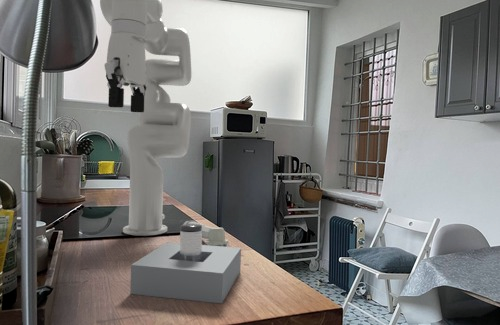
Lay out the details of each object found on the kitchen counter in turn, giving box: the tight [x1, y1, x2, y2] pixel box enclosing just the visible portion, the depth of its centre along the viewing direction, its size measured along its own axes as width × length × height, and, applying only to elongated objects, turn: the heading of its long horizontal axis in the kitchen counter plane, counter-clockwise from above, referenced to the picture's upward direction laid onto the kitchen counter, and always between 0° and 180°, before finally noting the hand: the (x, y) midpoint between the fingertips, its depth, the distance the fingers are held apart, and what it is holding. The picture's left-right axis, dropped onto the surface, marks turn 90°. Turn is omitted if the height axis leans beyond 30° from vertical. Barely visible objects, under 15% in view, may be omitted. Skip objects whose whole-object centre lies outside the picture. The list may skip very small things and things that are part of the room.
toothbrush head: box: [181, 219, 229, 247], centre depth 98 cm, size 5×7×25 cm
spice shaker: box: [179, 223, 203, 262], centre depth 69 cm, size 4×4×9 cm
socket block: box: [130, 241, 242, 304], centre depth 69 cm, size 16×16×5 cm
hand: (127, 109), depth 83 cm, fingers open, 9 cm apart
